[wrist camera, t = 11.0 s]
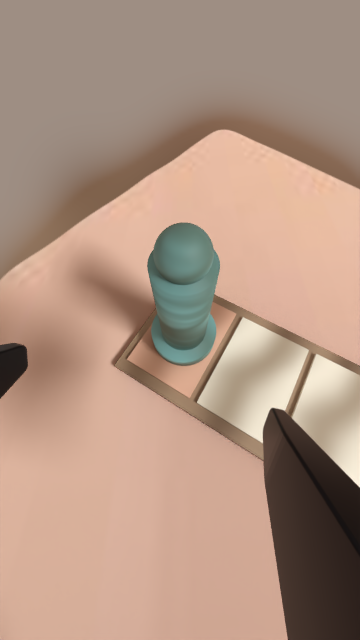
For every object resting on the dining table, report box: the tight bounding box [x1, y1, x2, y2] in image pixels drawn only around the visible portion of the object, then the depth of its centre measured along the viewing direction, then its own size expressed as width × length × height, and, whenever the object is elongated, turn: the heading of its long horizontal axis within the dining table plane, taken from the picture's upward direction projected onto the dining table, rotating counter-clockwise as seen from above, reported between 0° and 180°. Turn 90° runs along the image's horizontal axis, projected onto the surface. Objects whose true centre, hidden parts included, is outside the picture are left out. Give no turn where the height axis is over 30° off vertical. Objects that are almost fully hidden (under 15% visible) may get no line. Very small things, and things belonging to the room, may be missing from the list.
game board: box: [114, 295, 360, 487], centre depth 21 cm, size 22×11×1 cm, turn 59°
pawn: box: [147, 223, 220, 366], centre depth 16 cm, size 6×6×13 cm
